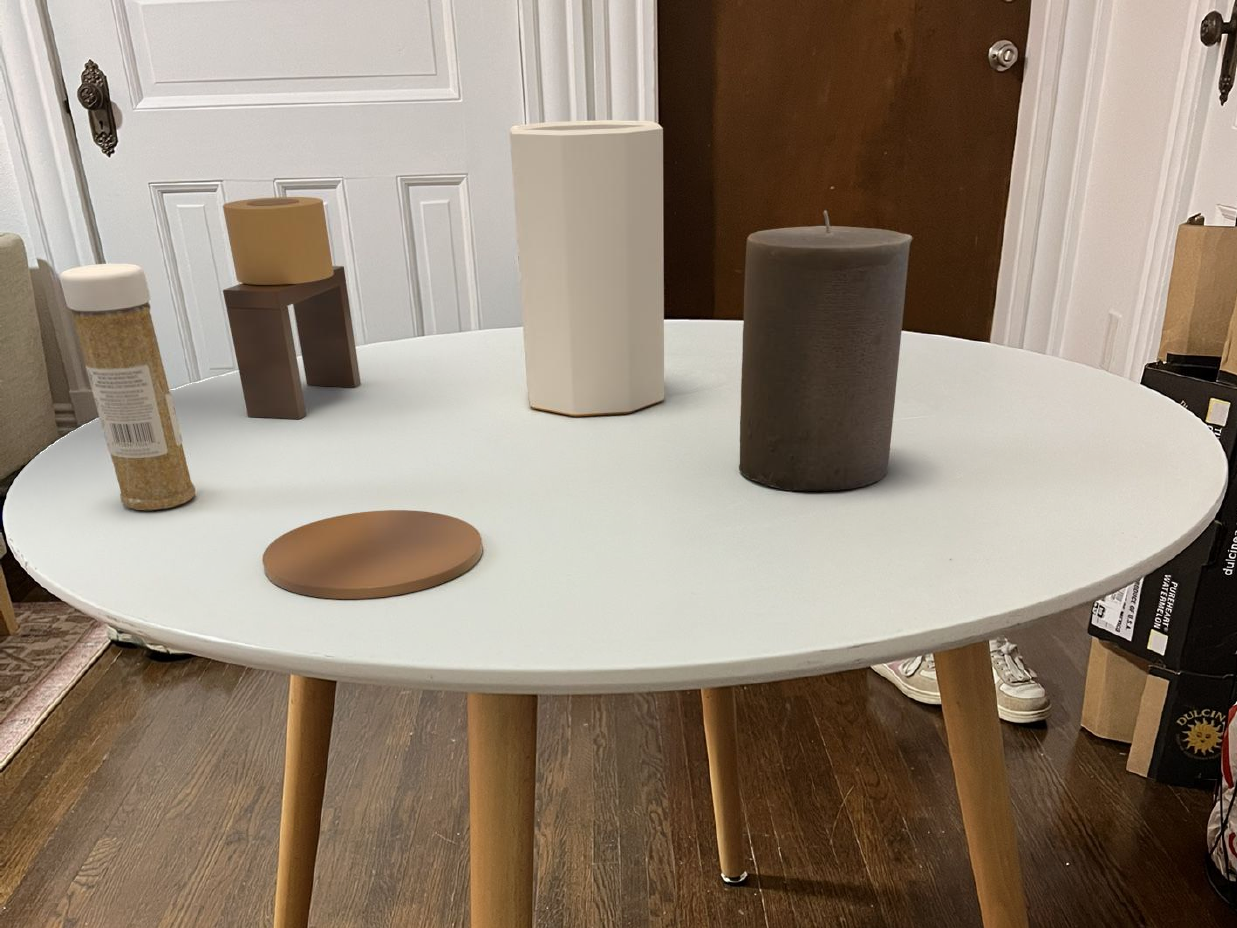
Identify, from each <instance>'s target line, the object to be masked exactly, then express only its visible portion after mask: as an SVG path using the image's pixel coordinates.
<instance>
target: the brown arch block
mask: <svg viewBox="0 0 1237 928" xmlns="http://www.w3.org/2000/svg"><path fill="white" fill-rule="evenodd" d="M333 272H334V274H333V275H332V276H331V277H329V278H326V279H322V280H318V281H313V282H306V283H298V284H286V285H252V284H245V283H239V284H237V285H233V286H231V287H228V288H225V289H222V294H223V298H224V303H225V307H226V314H227V319H228V324H229V328H230V333H231V338H232V343H233V348H234V354H235V357H236V358H235V359H236V363H237V367H238V368H237V369H238V374H239V378H240V383H241V384H240V385H241V388H242V394H243V398H244V402H245V408H246V413H247V417H249V418H264V419H265V418H268V419H285V420H286V419H288V420H301V419H302V418H304V417H307V409H306V404H305V398H304V392H303V386H302V381H301V374H300V368H299V364H298V357H297V351H296V345H295V339H294V336H293V335H294V334H293V327H292V323H291V317H290V316H291V315H290V311H289V306H291V305H292V306H293V311H294V317H295V324H296V328H297V329H296V330H297V335H298V340H299V347H300V353H301V358H302V364H303V365H302V366H303V369H304V370H303V371H304V375H305V376H304V377H305V382H306V386H308V387H309V386H310V387H311V386H312V387H335V388H336V387H337V388H356V387H358V386H360V385H362V382H361V374H360V369H359V368H360V367H359V362H358V355H357V349H356V340H355V334H354V328H353V320H352V314H351V307H350V299H349V293H348V292H349V291H348V285H347V278H346V272H345V266H344V265H333Z"/></svg>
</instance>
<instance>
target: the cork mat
mask: <svg viewBox="0 0 1237 928" xmlns="http://www.w3.org/2000/svg"><path fill="white" fill-rule="evenodd" d="M481 535H482V534H481V533H480V532H479V530H478V529H477V528H476V527H475V526H473V524H471V523H469V522H467V521H465V520H462V519H460V518H458V517H454V516H451V515H447V514H444V513H443V514H442V513H437V512H430V511H423V510H409V509H406V510H405V509H389V510H388V509H387V510H386V509H385V510H371V511H361V512H353V513H347V514H341V515H336V516H332V517H327V518H323V519H319V520H316V521H313V522H310V523H306V524H303V525H301V526H299V527H296V528H293V529H291V530H289V531H287V532H286V533H284V534H281V536H279V537H277V538H275V539H274V540H273V541H271V543H269V545H267V547H266V548H265V550H264V552H263V554H262V564H263V565H262V566H263V569H264V573H265V576H266V577H267V579H268V580H269V581H271V583H273V584H274V585H276V586H277V587H279V588H281V589H282V590H286V591H288V592H292V593H294V594H298V595H301V596H308V597H314V598H323V599H337V600H361V599H362V600H363V599H375V598H386V597H392V596H398V595H404V594H405V595H406V594H409V593H415V592H418V591H423V590H426V589H429V588H433V587H436V586H438V585H441V584H445V583H446V582H449V581H451V580H454V579H456V578H457V577H460V576H461V575H463V574H465V573H466V572H468V571H470V570H471V569H472V568H473V567H474V566H475V565H477V563H478V562H479V560H480V559H481V557H482V554H483V538H482V536H481Z"/></svg>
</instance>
